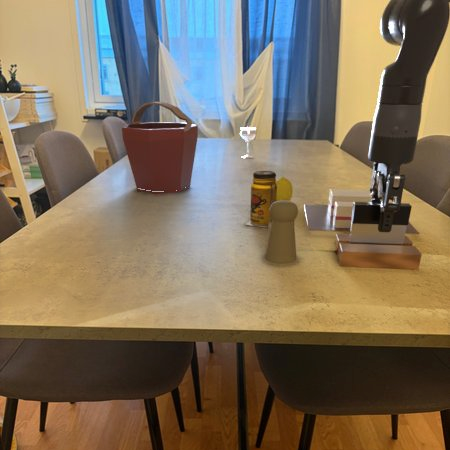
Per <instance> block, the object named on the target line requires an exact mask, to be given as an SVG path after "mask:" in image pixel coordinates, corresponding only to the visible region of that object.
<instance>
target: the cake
mask: <svg viewBox="0 0 450 450" xmlns="http://www.w3.org/2000/svg"><path fill="white" fill-rule="evenodd" d="M369 190H370V189H337V188H336V189H333V188H330V189H329V194H328V204H327V205H328V210H329V213H330V216H334V215H333V214H334V208H335V202H371V201H372V199H373V198H371V193H370V191H369Z"/></svg>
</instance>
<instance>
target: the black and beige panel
mask: <svg viewBox="0 0 450 450" xmlns="http://www.w3.org/2000/svg"><path fill="white" fill-rule="evenodd" d="M389 204H392V202H389ZM380 207H381V203H374V202H354V203H353V210H352V218H351V221H352V223H351V230H350V232H349V234H350V237H349V244H371V245H397V246H403V242H404V237H405V236H406V234H405V232H406V227H407V225H408V223H409V222H410V217H411V213H412V208H413V207H412V205H411V204H410V203H409V202H407V203H405V202H404V203H403V202H401V205H400V210H399V211H396V212H394V217H393V223H392V228H391V231H390V232H379V231H378V224H379V218H380V212H381V209H380Z"/></svg>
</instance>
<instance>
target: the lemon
mask: <svg viewBox="0 0 450 450" xmlns="http://www.w3.org/2000/svg"><path fill="white" fill-rule="evenodd" d="M276 185H277V198H276V201H282V200H285V201H291V200H292V197H293V192H294V191H293V189H294V188H293V184H292V182H291V181H290V180H289V179H288V178H286V177H285V176H281V177H279V178H278V179H276Z"/></svg>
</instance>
